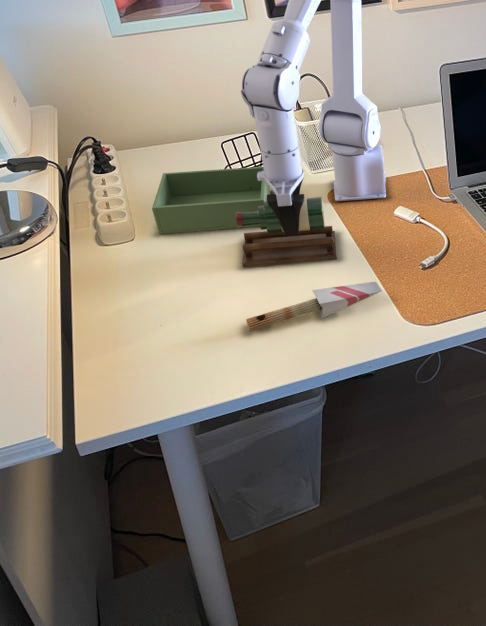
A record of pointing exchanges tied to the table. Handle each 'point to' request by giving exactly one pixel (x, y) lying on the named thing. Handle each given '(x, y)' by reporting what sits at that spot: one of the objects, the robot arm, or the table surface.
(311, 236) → the rack
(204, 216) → the basket
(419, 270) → the table surface
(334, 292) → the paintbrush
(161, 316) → the table surface
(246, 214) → the bottle
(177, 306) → the table surface
